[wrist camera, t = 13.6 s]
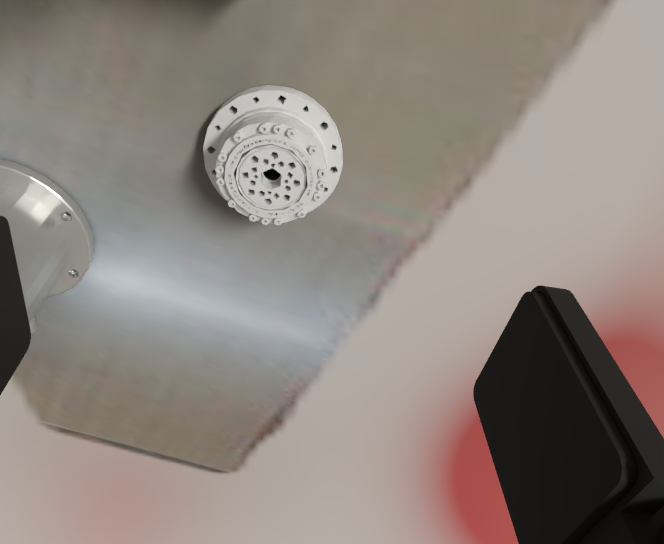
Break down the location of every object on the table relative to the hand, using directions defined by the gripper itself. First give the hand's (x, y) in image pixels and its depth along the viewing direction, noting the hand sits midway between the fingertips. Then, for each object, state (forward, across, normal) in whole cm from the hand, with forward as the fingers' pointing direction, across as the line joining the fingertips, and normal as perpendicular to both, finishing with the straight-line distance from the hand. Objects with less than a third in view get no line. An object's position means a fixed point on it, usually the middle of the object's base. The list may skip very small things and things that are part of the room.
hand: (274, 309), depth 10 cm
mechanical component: (+29, 0, +10) cm, 30 cm away
